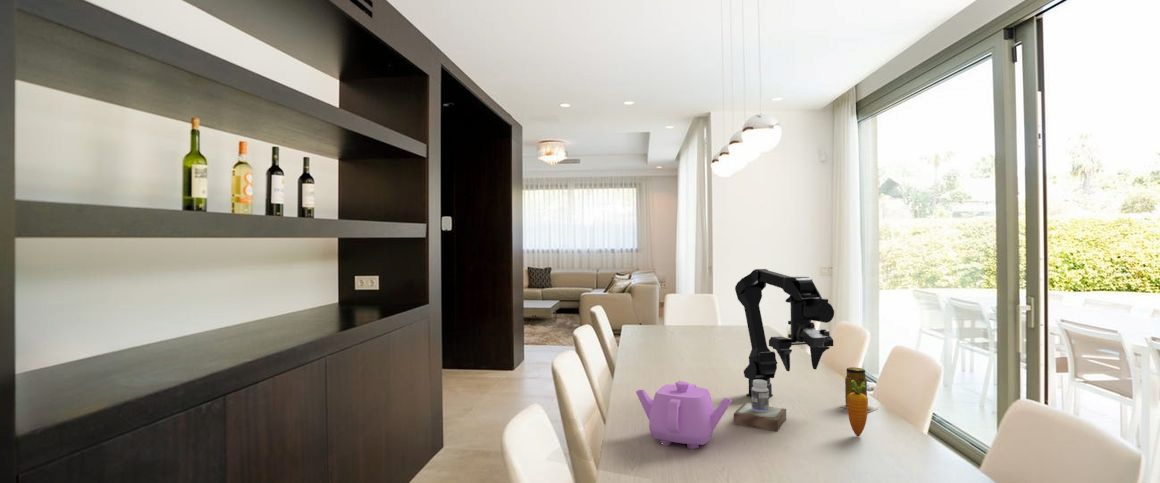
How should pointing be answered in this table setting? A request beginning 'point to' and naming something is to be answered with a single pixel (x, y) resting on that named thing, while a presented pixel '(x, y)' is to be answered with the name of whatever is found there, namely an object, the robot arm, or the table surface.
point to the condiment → (858, 377)
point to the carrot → (857, 408)
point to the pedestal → (760, 417)
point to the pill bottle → (760, 396)
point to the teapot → (682, 414)
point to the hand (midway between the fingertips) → (801, 370)
